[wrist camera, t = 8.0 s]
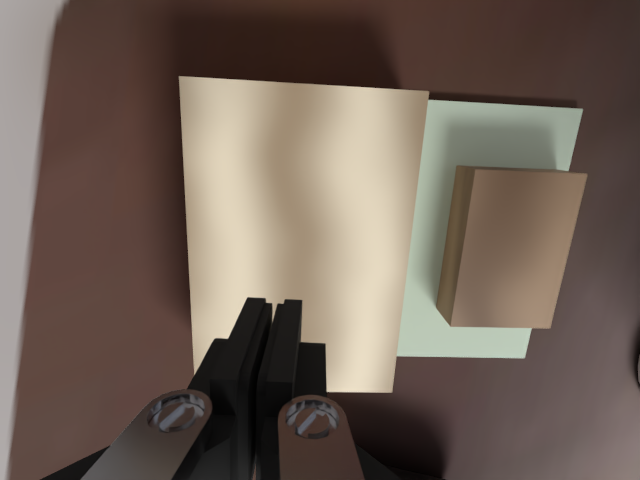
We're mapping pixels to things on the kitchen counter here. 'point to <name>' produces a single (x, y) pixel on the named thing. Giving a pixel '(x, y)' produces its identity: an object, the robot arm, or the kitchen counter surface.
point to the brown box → (507, 245)
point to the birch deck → (303, 213)
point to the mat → (435, 201)
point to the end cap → (410, 474)
